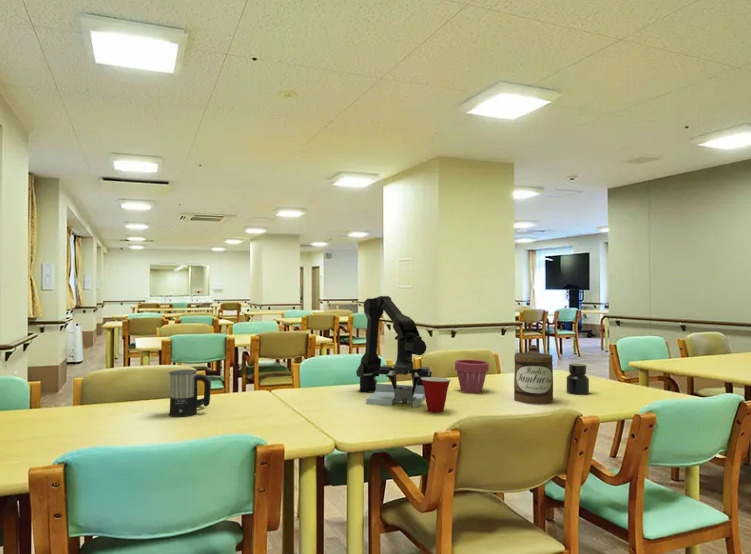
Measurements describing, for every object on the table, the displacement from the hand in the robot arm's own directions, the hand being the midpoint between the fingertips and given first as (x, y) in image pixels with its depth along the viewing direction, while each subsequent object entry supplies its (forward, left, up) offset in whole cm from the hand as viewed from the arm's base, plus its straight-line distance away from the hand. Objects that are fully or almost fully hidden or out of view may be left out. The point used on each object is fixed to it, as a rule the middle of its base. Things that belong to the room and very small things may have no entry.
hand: (404, 393), depth 202 cm
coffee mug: (+3, +21, -4) cm, 22 cm away
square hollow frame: (0, 0, -1) cm, 1 cm away
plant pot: (+23, +33, -4) cm, 40 cm away
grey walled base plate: (-4, +4, -4) cm, 7 cm away
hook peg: (0, 0, -4) cm, 4 cm away
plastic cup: (+13, -8, -4) cm, 16 cm away
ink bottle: (+67, +42, -4) cm, 79 cm away
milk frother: (-71, -33, -4) cm, 78 cm away
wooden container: (+48, +21, -4) cm, 53 cm away
